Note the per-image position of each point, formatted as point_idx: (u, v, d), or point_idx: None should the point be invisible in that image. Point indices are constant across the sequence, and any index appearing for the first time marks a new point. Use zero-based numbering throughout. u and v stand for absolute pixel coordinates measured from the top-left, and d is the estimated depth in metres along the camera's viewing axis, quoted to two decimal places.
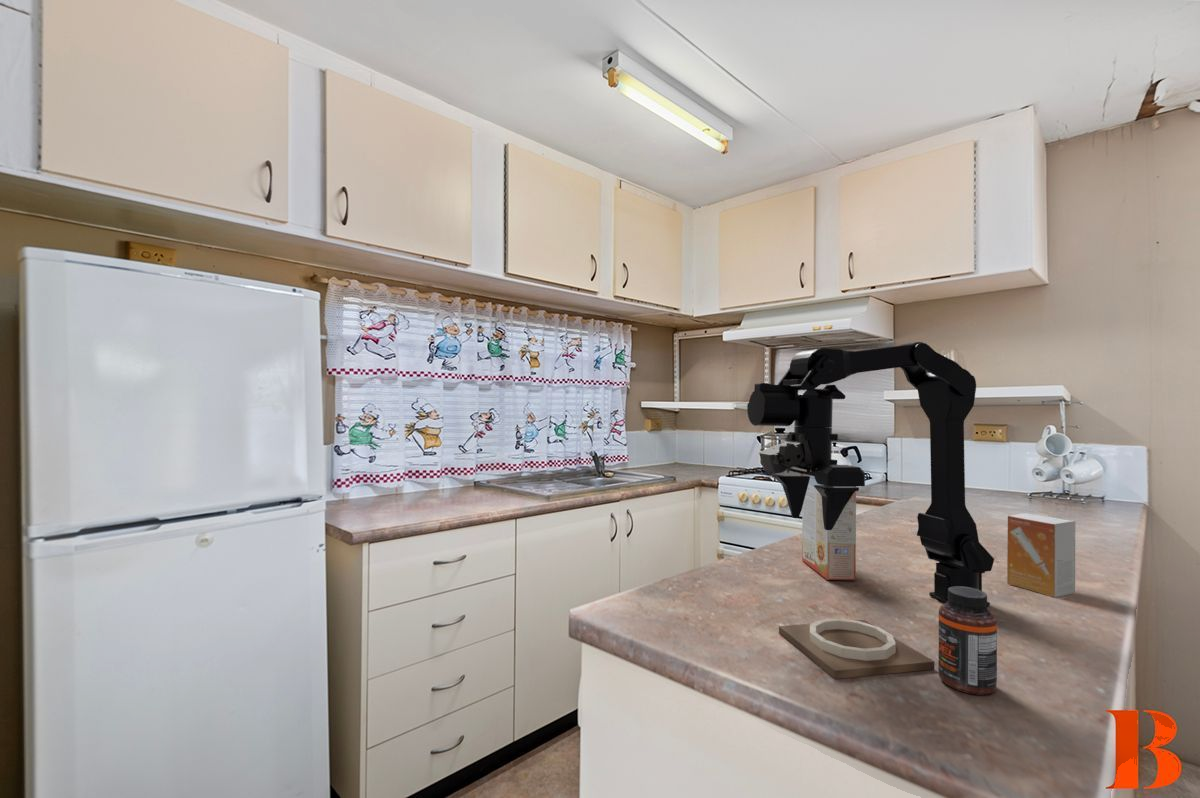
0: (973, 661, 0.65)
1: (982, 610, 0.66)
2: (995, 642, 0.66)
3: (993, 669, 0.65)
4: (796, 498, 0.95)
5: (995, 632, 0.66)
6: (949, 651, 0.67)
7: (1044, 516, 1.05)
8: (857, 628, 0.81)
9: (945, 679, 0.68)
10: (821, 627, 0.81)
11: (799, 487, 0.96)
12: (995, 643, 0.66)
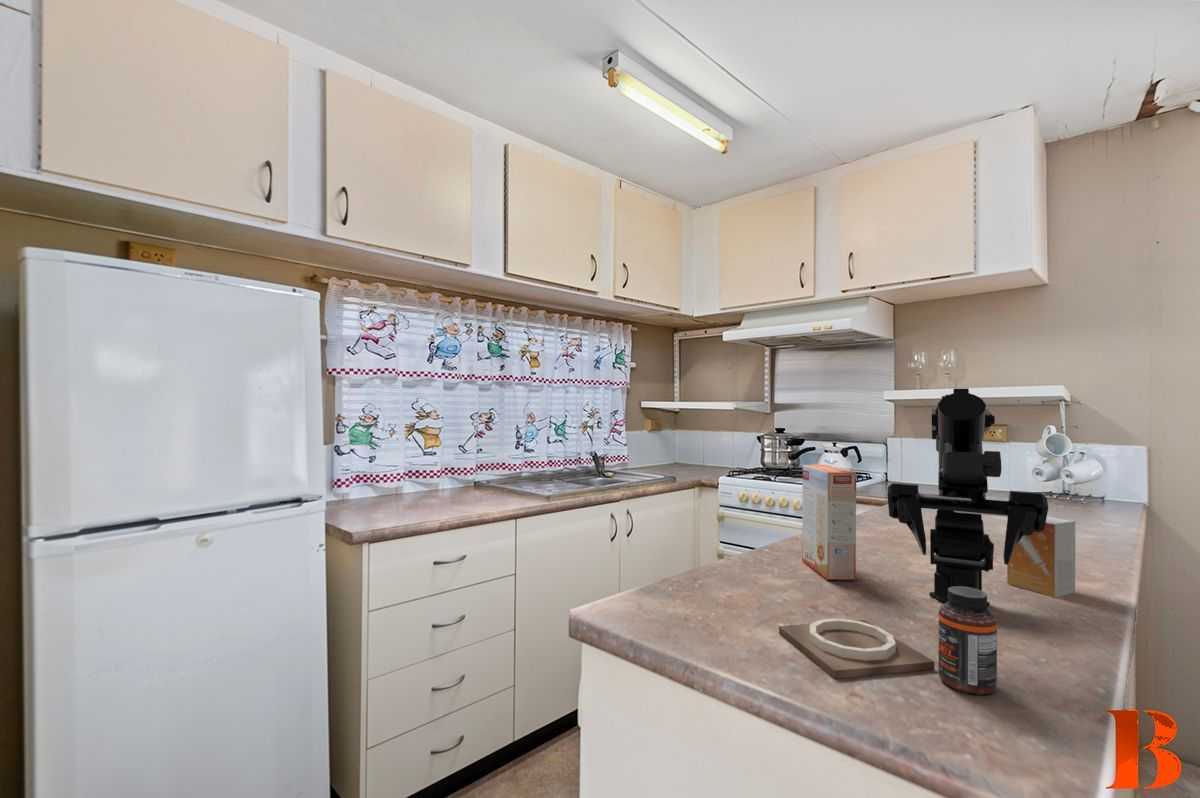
0: (973, 661, 0.65)
1: (982, 610, 0.66)
2: (995, 642, 0.66)
3: (993, 669, 0.65)
4: None
5: (995, 632, 0.66)
6: (949, 651, 0.67)
7: None
8: (857, 628, 0.81)
9: (945, 679, 0.68)
10: (821, 627, 0.81)
11: None
12: (995, 643, 0.66)
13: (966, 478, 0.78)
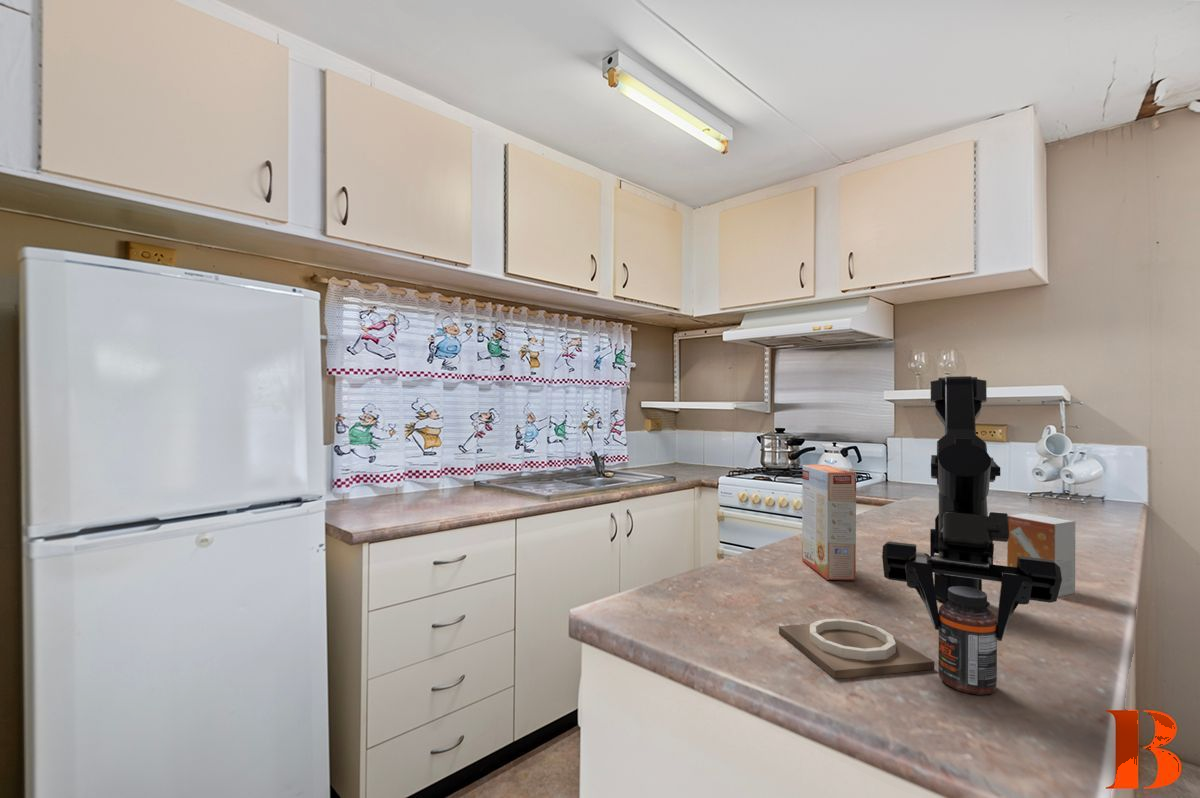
0: (973, 660, 0.65)
1: (982, 610, 0.66)
2: (995, 641, 0.66)
3: (993, 668, 0.65)
4: None
5: (995, 631, 0.66)
6: (949, 651, 0.67)
7: (1044, 516, 1.05)
8: (857, 628, 0.81)
9: (945, 679, 0.68)
10: (821, 627, 0.81)
11: None
12: (995, 643, 0.66)
13: (969, 542, 0.70)
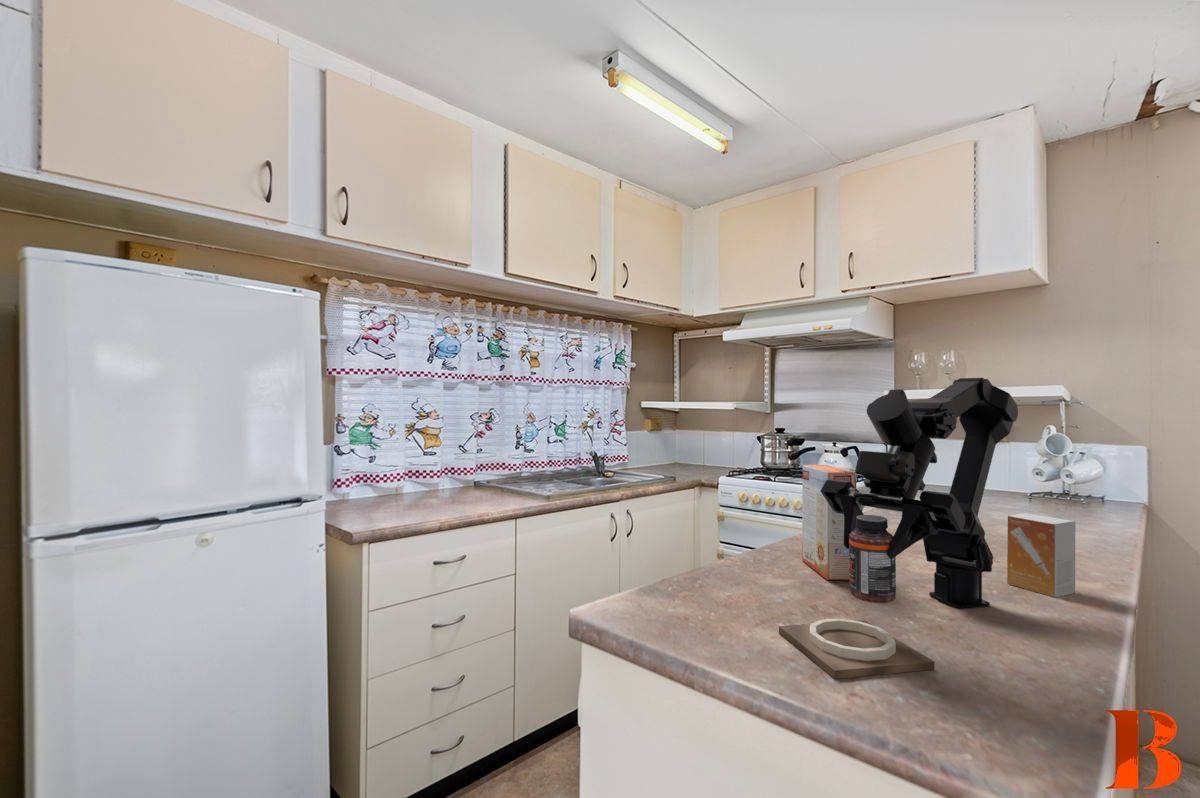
0: (864, 573, 0.78)
1: (876, 532, 0.78)
2: (888, 559, 0.77)
3: (884, 582, 0.77)
4: (854, 529, 0.83)
5: (887, 551, 0.77)
6: (851, 565, 0.80)
7: (1044, 516, 1.05)
8: (857, 628, 0.81)
9: (850, 589, 0.80)
10: (821, 627, 0.81)
11: None
12: (887, 561, 0.77)
13: (881, 477, 0.81)
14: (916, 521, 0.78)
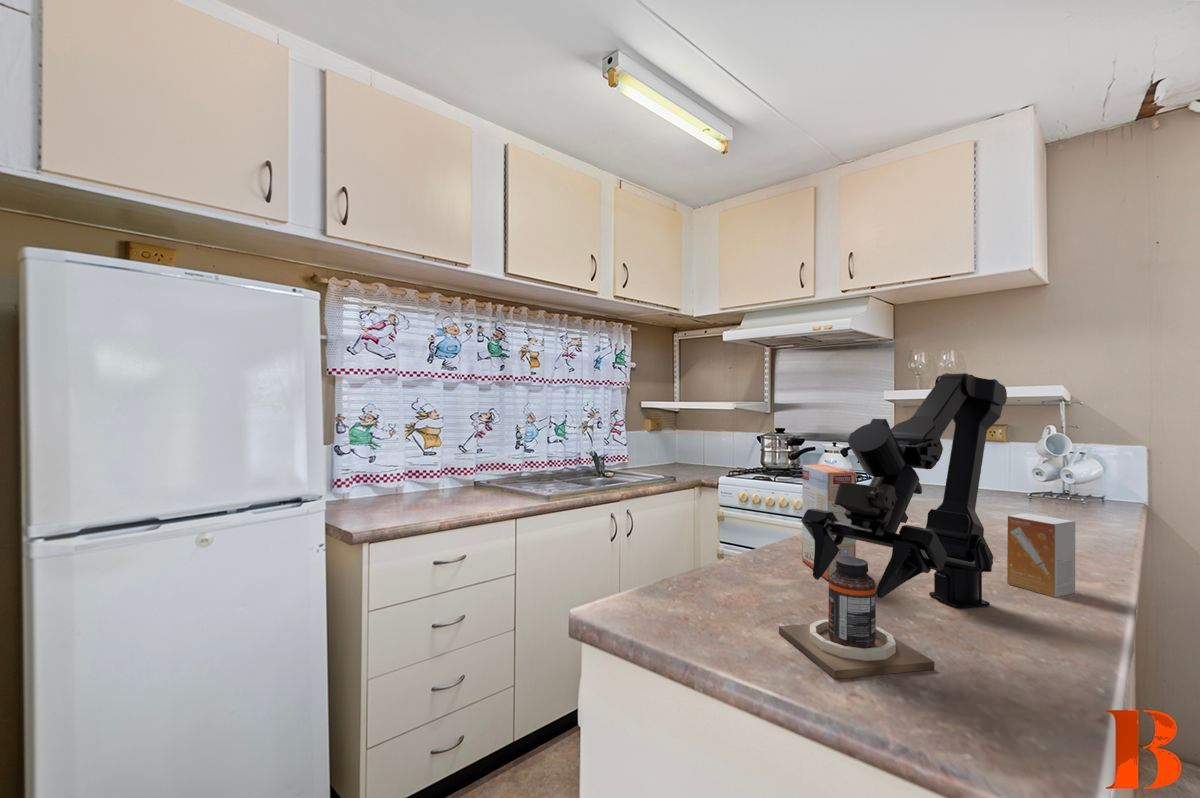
0: (843, 618, 0.75)
1: (856, 576, 0.76)
2: (867, 605, 0.75)
3: (862, 628, 0.75)
4: (824, 559, 0.82)
5: (867, 596, 0.75)
6: (829, 609, 0.78)
7: (1044, 516, 1.05)
8: None
9: (829, 633, 0.78)
10: (821, 627, 0.81)
11: (830, 551, 0.83)
12: (867, 606, 0.75)
13: (861, 509, 0.78)
14: (907, 559, 0.75)
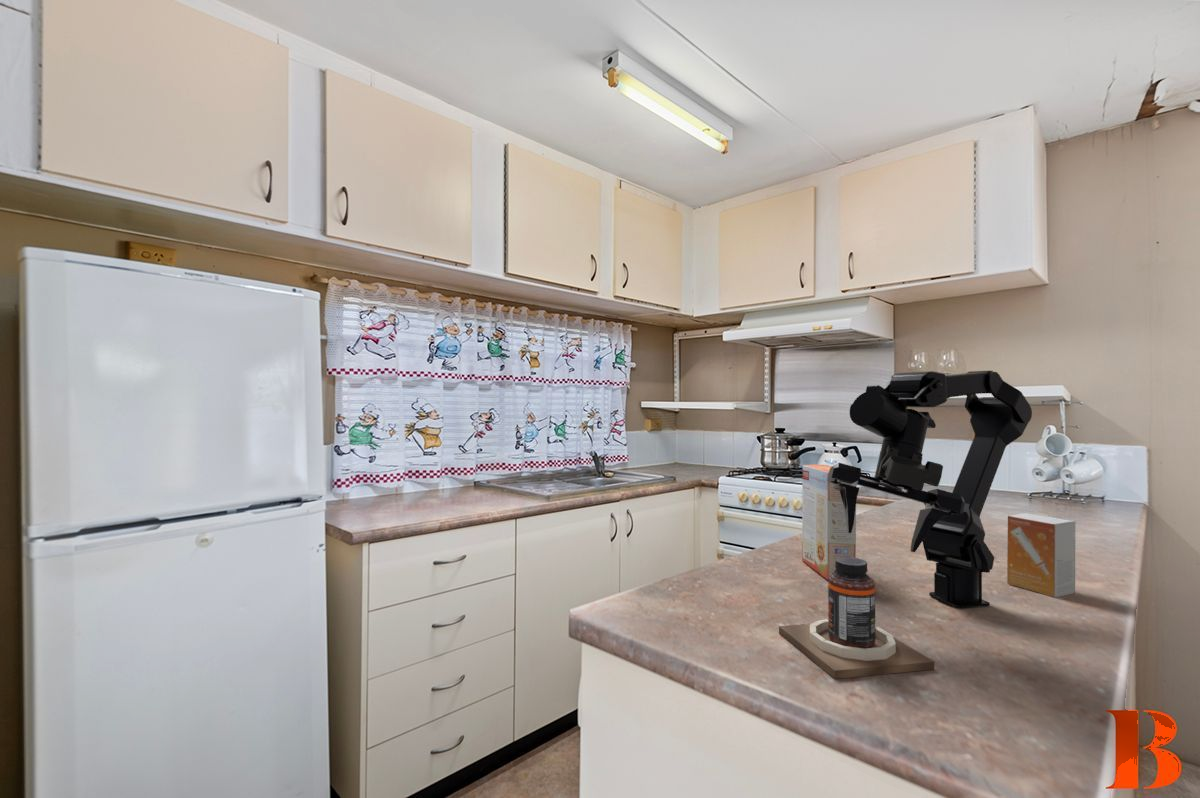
0: (842, 618, 0.76)
1: (855, 576, 0.76)
2: (867, 605, 0.75)
3: (862, 628, 0.75)
4: None
5: (866, 596, 0.75)
6: (829, 609, 0.78)
7: (1044, 516, 1.05)
8: None
9: (829, 634, 0.78)
10: (821, 627, 0.81)
11: None
12: (866, 606, 0.75)
13: None
14: None
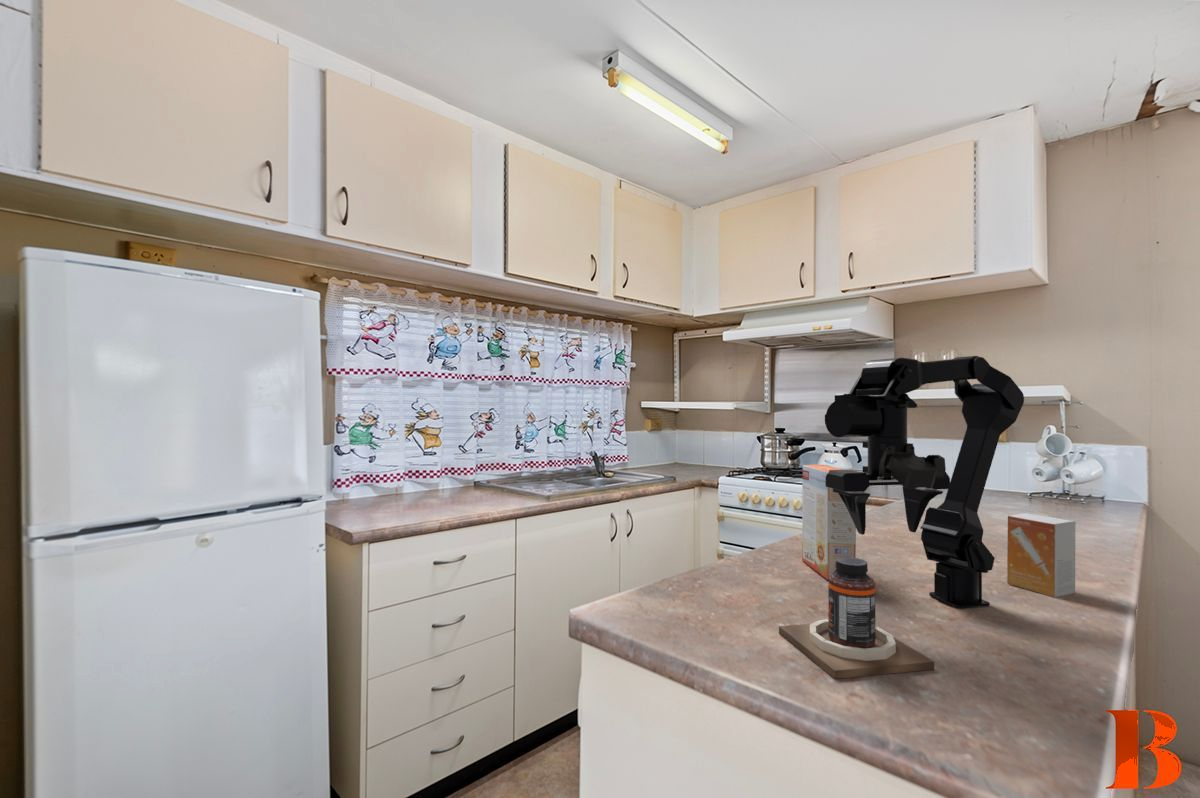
0: (842, 618, 0.76)
1: (855, 576, 0.76)
2: (867, 605, 0.75)
3: (862, 628, 0.75)
4: None
5: (866, 596, 0.75)
6: (829, 609, 0.78)
7: (1044, 516, 1.05)
8: None
9: (829, 634, 0.78)
10: (821, 627, 0.81)
11: None
12: (866, 606, 0.75)
13: None
14: None
